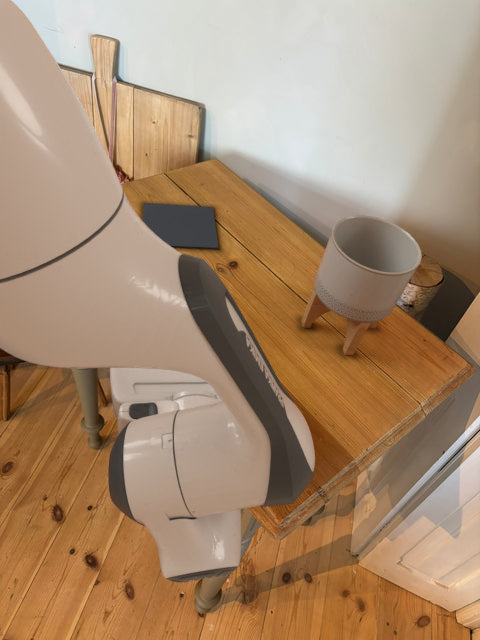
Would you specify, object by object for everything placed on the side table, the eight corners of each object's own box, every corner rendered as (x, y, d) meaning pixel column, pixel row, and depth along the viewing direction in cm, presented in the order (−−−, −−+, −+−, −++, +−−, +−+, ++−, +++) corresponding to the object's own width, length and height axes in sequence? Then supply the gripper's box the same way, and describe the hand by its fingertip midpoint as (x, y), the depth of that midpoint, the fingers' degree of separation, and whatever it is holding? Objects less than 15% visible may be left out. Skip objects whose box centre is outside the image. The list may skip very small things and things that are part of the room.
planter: (294, 296, 81) (322, 212, 68) (362, 298, 84) (402, 217, 71) (310, 355, 73) (346, 272, 60) (385, 355, 75) (436, 275, 62)
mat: (142, 246, 84) (142, 244, 84) (143, 204, 93) (143, 202, 92) (218, 249, 87) (218, 247, 86) (212, 208, 95) (213, 206, 95)
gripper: (285, 412, 54) (267, 323, 63) (104, 416, 50) (112, 320, 59) (274, 437, 59) (258, 351, 68) (107, 443, 55) (114, 350, 64)
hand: (189, 337), depth 63 cm, fingers open, 8 cm apart
